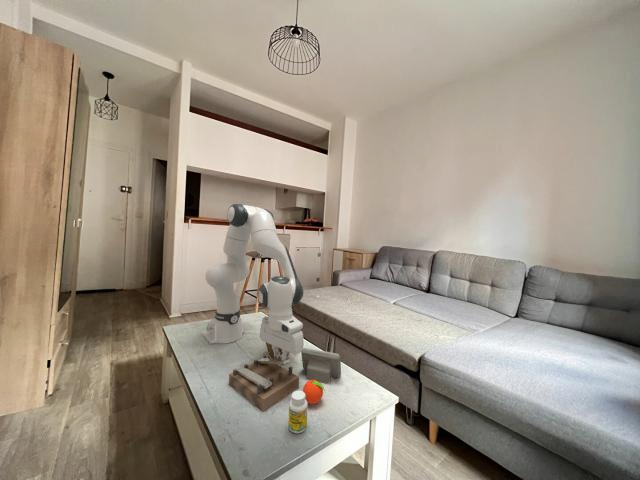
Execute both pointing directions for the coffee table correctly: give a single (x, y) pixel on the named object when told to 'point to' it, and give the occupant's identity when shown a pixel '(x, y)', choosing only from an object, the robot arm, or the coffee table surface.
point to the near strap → (254, 377)
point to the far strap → (273, 361)
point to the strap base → (267, 397)
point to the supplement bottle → (298, 412)
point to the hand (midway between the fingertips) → (280, 358)
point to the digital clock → (321, 365)
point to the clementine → (313, 391)
